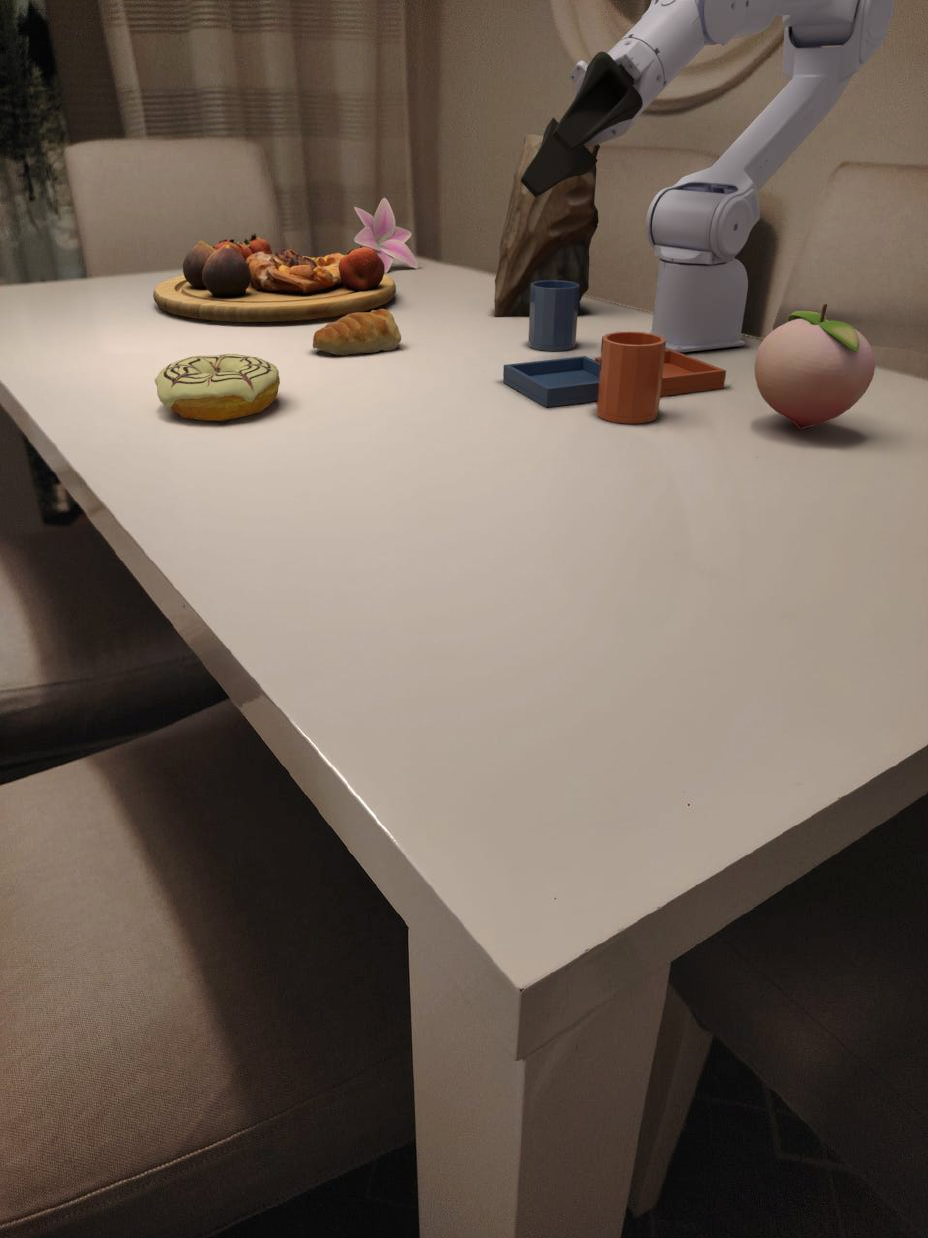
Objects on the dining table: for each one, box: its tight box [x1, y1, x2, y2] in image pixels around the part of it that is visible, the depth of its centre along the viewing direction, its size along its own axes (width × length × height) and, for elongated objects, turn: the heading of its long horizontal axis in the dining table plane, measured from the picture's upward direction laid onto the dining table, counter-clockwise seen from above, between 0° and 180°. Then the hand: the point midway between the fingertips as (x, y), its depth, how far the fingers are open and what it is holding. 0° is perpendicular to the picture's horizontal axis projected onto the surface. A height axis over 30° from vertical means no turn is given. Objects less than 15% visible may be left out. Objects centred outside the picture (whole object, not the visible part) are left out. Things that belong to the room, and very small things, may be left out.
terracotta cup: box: [596, 330, 666, 425], centre depth 77 cm, size 5×5×6 cm
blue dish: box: [502, 355, 600, 408], centre depth 85 cm, size 9×9×2 cm
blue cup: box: [527, 280, 579, 352], centre depth 99 cm, size 5×5×6 cm
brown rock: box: [493, 133, 601, 317], centre depth 114 cm, size 13×13×20 cm
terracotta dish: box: [594, 349, 727, 397], centre depth 88 cm, size 9×9×2 cm
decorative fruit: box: [754, 303, 876, 429], centre depth 73 cm, size 9×8×10 cm
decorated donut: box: [154, 353, 281, 422], centre depth 79 cm, size 10×11×4 cm
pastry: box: [312, 308, 402, 357], centre depth 98 cm, size 9×7×4 cm
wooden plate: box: [152, 233, 397, 323], centre depth 120 cm, size 32×32×8 cm
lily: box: [353, 197, 419, 274], centre depth 145 cm, size 12×12×10 cm
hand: (544, 165), depth 79 cm, fingers open, 7 cm apart
